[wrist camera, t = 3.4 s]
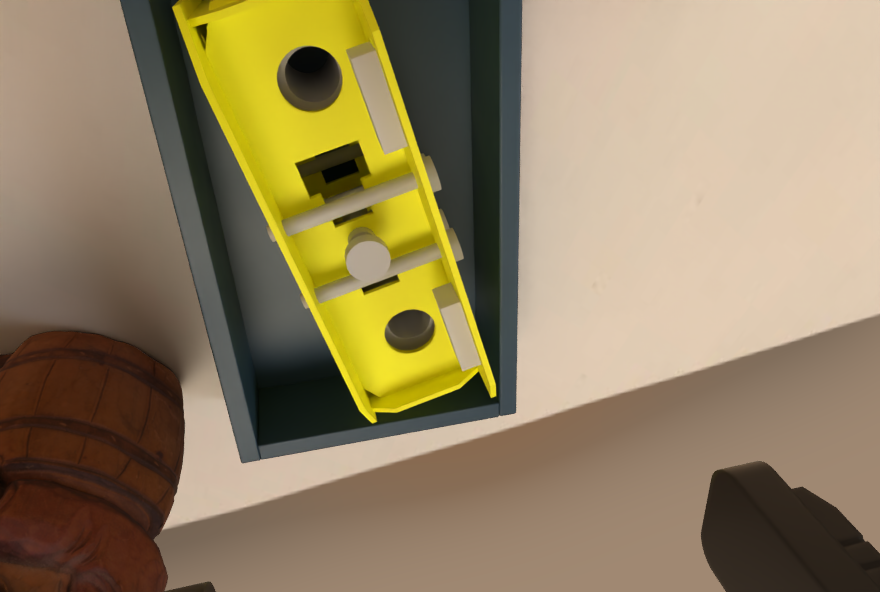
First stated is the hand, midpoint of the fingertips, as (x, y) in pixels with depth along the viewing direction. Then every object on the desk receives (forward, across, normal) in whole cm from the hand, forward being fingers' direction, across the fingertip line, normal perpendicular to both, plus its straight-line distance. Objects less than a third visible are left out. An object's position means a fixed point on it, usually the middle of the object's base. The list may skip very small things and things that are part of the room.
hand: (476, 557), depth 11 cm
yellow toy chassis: (+20, 0, 0) cm, 20 cm away
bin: (+20, 0, 0) cm, 20 cm away
